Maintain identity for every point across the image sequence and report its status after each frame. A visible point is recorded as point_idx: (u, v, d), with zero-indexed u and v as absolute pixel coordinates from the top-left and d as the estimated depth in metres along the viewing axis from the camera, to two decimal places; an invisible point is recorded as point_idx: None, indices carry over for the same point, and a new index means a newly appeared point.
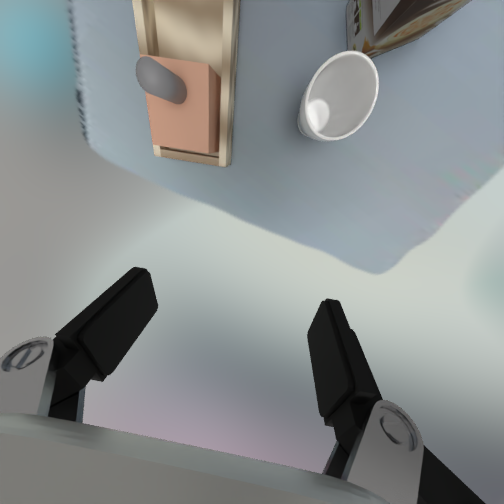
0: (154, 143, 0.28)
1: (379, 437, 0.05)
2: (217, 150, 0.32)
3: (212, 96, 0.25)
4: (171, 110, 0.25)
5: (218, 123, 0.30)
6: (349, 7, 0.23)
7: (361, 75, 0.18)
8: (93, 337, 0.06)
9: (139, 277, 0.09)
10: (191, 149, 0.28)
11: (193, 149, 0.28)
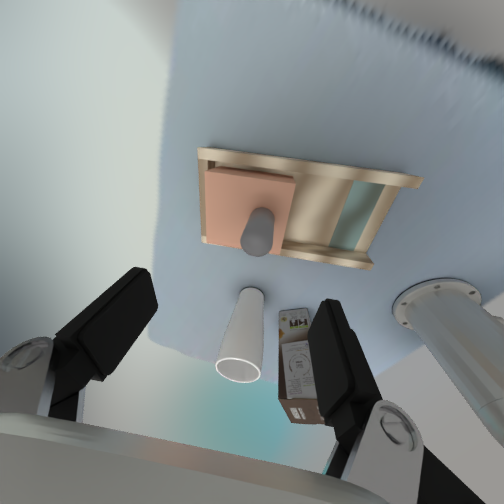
0: (206, 174, 0.20)
1: (379, 437, 0.05)
2: None
3: None
4: (243, 209, 0.21)
5: None
6: (304, 312, 0.37)
7: None
8: (93, 337, 0.06)
9: (139, 277, 0.09)
10: (207, 224, 0.23)
11: (207, 226, 0.23)
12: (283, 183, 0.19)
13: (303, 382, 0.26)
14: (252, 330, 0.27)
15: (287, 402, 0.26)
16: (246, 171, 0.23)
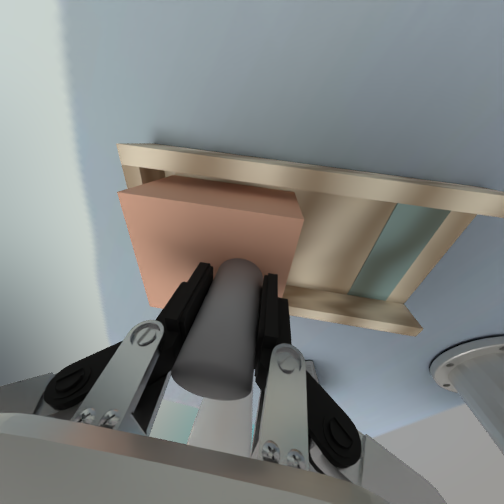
0: (122, 198, 0.10)
1: (278, 377, 0.06)
2: None
3: None
4: (205, 261, 0.11)
5: None
6: (309, 367, 0.27)
7: None
8: (188, 321, 0.07)
9: (208, 271, 0.09)
10: (145, 281, 0.13)
11: (146, 284, 0.13)
12: (278, 218, 0.09)
13: None
14: (233, 427, 0.18)
15: None
16: (213, 186, 0.13)
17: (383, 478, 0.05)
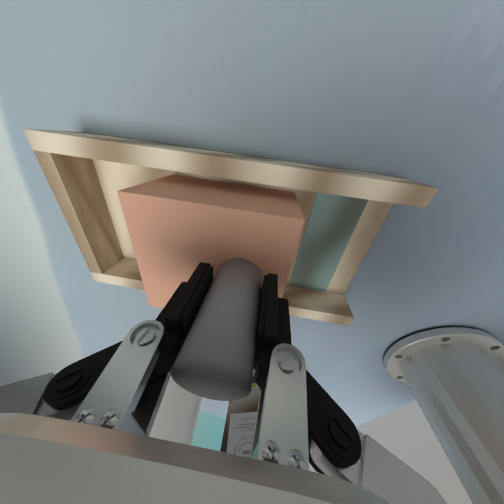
0: (121, 196, 0.10)
1: (278, 377, 0.06)
2: None
3: None
4: (205, 260, 0.11)
5: None
6: None
7: None
8: (187, 321, 0.07)
9: (208, 271, 0.09)
10: (144, 280, 0.13)
11: (145, 283, 0.13)
12: (278, 218, 0.09)
13: None
14: (172, 415, 0.18)
15: None
16: (213, 186, 0.13)
17: (383, 478, 0.05)
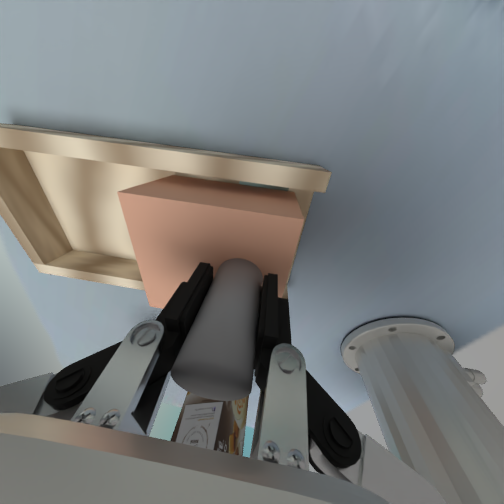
0: (121, 197, 0.10)
1: (278, 377, 0.06)
2: None
3: None
4: (205, 261, 0.11)
5: None
6: None
7: None
8: (188, 321, 0.07)
9: (208, 271, 0.09)
10: (144, 280, 0.13)
11: (146, 284, 0.13)
12: (278, 218, 0.09)
13: None
14: None
15: None
16: (213, 186, 0.13)
17: (383, 478, 0.05)
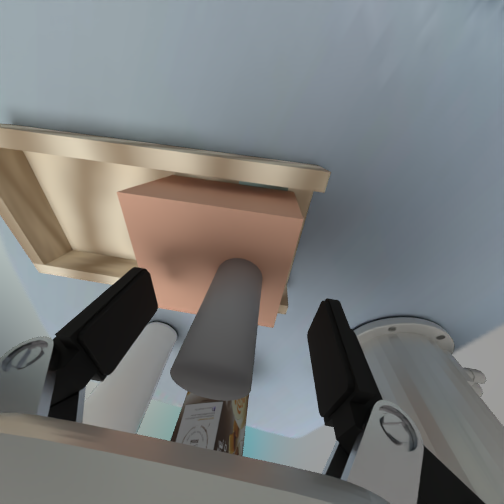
0: (121, 197, 0.10)
1: (379, 437, 0.05)
2: None
3: None
4: (204, 261, 0.11)
5: None
6: None
7: None
8: (93, 337, 0.06)
9: (139, 277, 0.09)
10: None
11: None
12: (277, 217, 0.09)
13: None
14: (114, 403, 0.18)
15: None
16: (212, 186, 0.13)
17: None
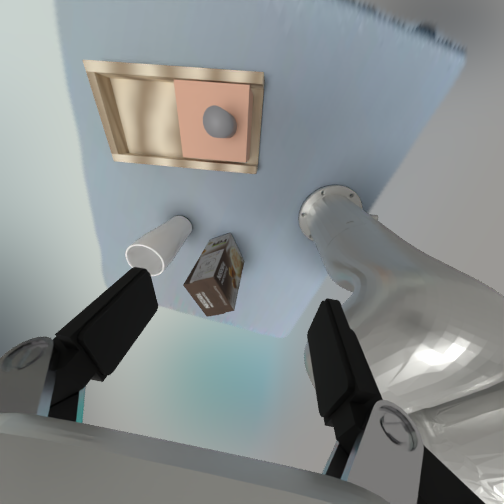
0: (175, 82, 0.23)
1: (379, 437, 0.05)
2: None
3: None
4: None
5: None
6: (227, 235, 0.42)
7: None
8: (93, 337, 0.06)
9: (139, 277, 0.09)
10: (181, 136, 0.27)
11: (182, 139, 0.27)
12: (239, 85, 0.23)
13: (205, 271, 0.32)
14: (162, 233, 0.32)
15: (191, 287, 0.31)
16: None
17: None
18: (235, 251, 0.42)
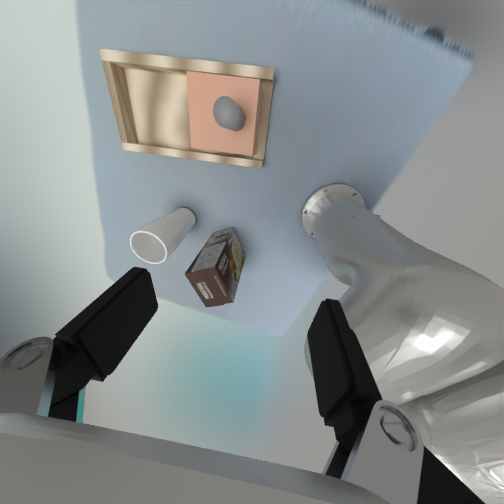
0: (187, 73, 0.24)
1: (379, 437, 0.05)
2: None
3: None
4: None
5: None
6: (230, 229, 0.42)
7: None
8: (93, 337, 0.06)
9: (139, 277, 0.09)
10: (191, 127, 0.27)
11: (191, 130, 0.27)
12: (249, 79, 0.24)
13: (206, 262, 0.32)
14: (166, 222, 0.33)
15: (192, 276, 0.31)
16: None
17: None
18: (236, 245, 0.42)
